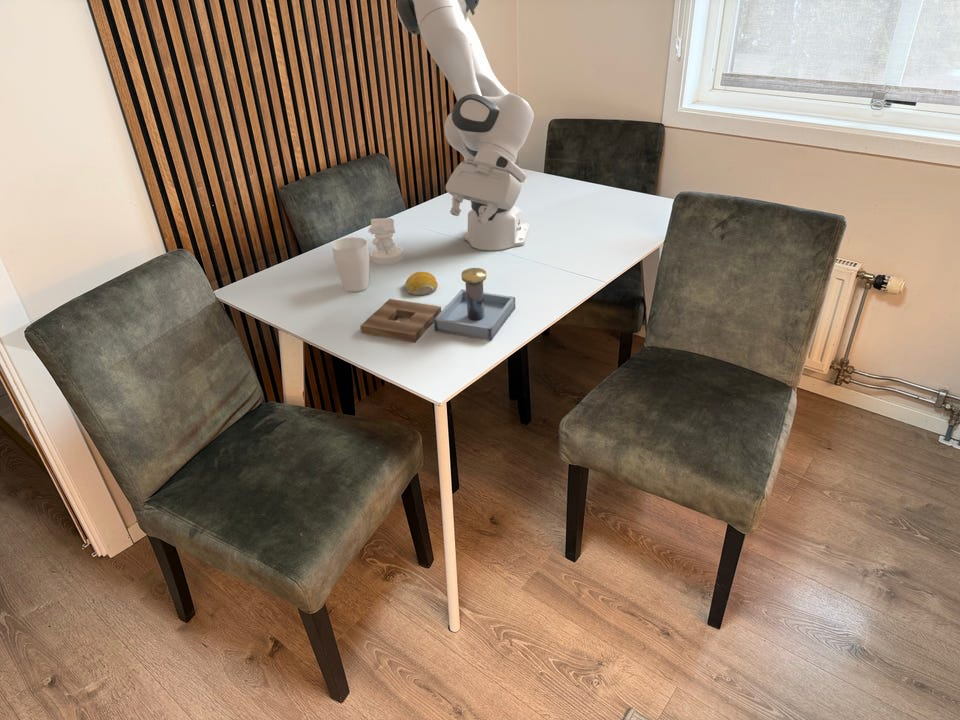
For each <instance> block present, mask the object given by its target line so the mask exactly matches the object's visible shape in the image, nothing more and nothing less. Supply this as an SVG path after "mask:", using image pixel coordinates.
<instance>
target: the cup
mask: <svg viewBox="0 0 960 720" xmlns="http://www.w3.org/2000/svg"><path fill="white" fill-rule="evenodd" d="M331 247H332V255H333V260H334V263H335V265H336V269H337V272H338V275H339V277H340V280H341V281H340V282H341V284H342V286H343V290H345V291H347V292H351V293H353V292H354V293H357V292H362V291H364V290H366V289H367V288H368V287H370V251H369V248H368V247H369V246H368V241H367V240H366V239H365V238H363V237H355V236H353V237H345V238H340V239H338V240H336V241H335V242H333V244H332V246H331Z"/></svg>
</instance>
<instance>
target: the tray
mask: <svg viewBox="0 0 960 720" xmlns="http://www.w3.org/2000/svg"><path fill="white" fill-rule="evenodd" d="M483 293H484V315H485V317H484V318H483V319H481V320H478V321H473V320H470V319H468V315H467V299H466V289H461V290H460V291H458V293H457V294H456V295H455V296H454V297H453V298H452V299H451V300H450V301H449V302H448V303H447V304H446V306H444V308H443V309H441V312H440V314H439V315H438V316H437V317H436V318H435V319H434V323H433V324H434V325H433V326H434V332H436V333H437V332H439V333H444V334H450V335H455V336H456V335H457V336H462V337H468V338H474V339H479V340H486V341H492V340H493V339H494V338H495V336H496V335H497V334H498V333H499V331H500V330H501V328H503V326H504V325H505V323H506V321H507V320H508V319H509V317H510V316H511V315H512V313H514V311H515V309H516V296H510V295H504V294H496V293H489V292H483Z"/></svg>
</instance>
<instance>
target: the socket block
mask: <svg viewBox="0 0 960 720" xmlns="http://www.w3.org/2000/svg"><path fill="white" fill-rule="evenodd" d="M441 311H442V306H440V305H433V304H428V303H427V304H426V303H419V302H413V301H407V300H400V299H396V298H395V299H393V298H389V299H387V301H385V302H384V303H383V304H382V305H381V306H380V307H379V308H378V309H377V310H376V311H375V312H373V314H371V316H369V317H368V318H367V319H366V320H365V321H364V322H363V323H361V324H360V333H361V334H363V335H365V334H366V335H371V336H374V337H375V336H377V337H381V338H388V339H391V340H392V339H393V340H398V341H404V342H409V343H417V341H418V340H419V339H420V338H421V337H422V336H423V335H424V334H425V333H426V332H427V331H428V330H429V328H431V326H432V325H433V324H434V319H435V318H436V317H437V316H438V315H439V314H440V312H441ZM398 318H404V319H407V321H406V322H405V321H401V320H400V321H399V320H397V319H398Z"/></svg>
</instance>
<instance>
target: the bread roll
mask: <svg viewBox="0 0 960 720" xmlns="http://www.w3.org/2000/svg"><path fill="white" fill-rule="evenodd" d="M438 286H439V283H438V282H437V279H436V277H435V276H434V275H433V274H432V273H430V272H428V271H417V272H413V273H412V274H411V275H409V276H408V277H407V279H406V281H405V283H404V287H405V289H406V291H407V293H408V294H411V295H414V296H426V295H430V294H433V293H434V292H435V291H437V289H438Z"/></svg>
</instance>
